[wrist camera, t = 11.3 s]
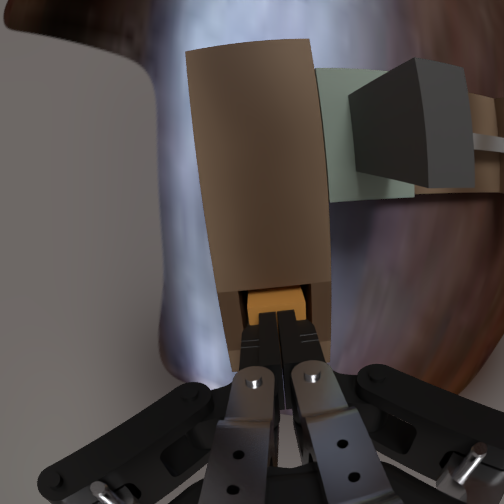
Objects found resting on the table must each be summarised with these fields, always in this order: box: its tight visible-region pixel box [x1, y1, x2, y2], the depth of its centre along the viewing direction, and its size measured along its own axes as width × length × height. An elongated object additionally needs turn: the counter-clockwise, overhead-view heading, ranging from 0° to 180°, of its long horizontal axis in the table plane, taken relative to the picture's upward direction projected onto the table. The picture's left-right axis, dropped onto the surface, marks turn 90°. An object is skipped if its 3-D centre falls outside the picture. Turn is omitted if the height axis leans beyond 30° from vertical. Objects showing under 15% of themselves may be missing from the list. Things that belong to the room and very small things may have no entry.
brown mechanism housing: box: [185, 39, 504, 372], centre depth 15 cm, size 24×15×8 cm, turn 96°
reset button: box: [247, 285, 306, 346], centre depth 15 cm, size 2×2×4 cm
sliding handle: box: [315, 57, 475, 203], centre depth 12 cm, size 5×7×11 cm
